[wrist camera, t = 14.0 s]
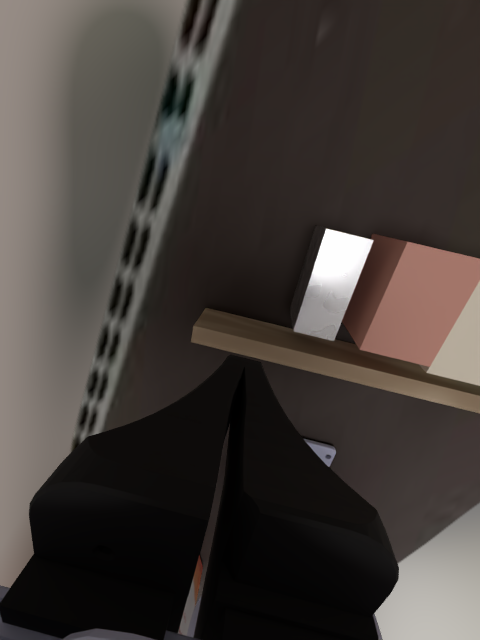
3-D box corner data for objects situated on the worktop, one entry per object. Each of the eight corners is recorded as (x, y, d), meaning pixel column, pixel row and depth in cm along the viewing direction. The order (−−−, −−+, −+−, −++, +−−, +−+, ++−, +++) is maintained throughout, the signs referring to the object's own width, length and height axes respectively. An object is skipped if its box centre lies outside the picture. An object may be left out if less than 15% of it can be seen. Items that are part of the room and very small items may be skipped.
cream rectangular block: (444, 348, 20) (496, 389, 15) (390, 335, 20) (426, 372, 15) (491, 268, 18) (568, 289, 13) (430, 254, 18) (485, 269, 13)
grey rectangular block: (322, 317, 20) (334, 341, 16) (289, 309, 20) (293, 331, 16) (352, 234, 18) (373, 240, 14) (315, 225, 18) (326, 229, 14)
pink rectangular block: (393, 330, 20) (429, 366, 15) (339, 317, 20) (359, 349, 15) (433, 248, 18) (490, 261, 13) (372, 233, 18) (407, 241, 13)
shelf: (508, 396, 21) (616, 481, 14) (203, 321, 21) (172, 370, 15) (610, 259, 17) (825, 291, 10) (230, 171, 17) (204, 147, 11)
